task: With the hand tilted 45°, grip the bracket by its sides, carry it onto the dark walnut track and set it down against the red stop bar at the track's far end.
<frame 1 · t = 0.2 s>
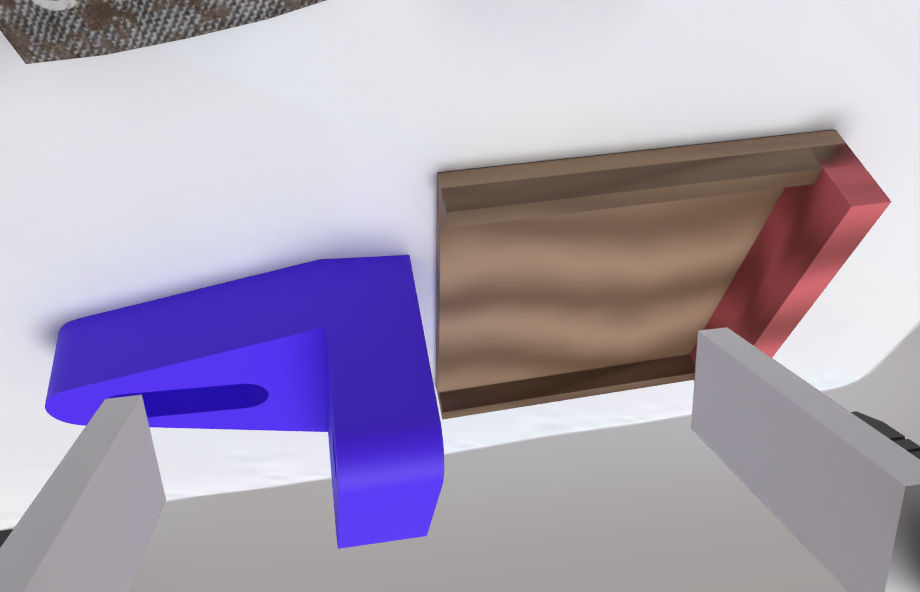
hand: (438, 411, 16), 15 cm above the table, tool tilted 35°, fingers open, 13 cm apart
walnut stop track: (602, 279, 40), on the table
bracket: (240, 322, 38), on the table
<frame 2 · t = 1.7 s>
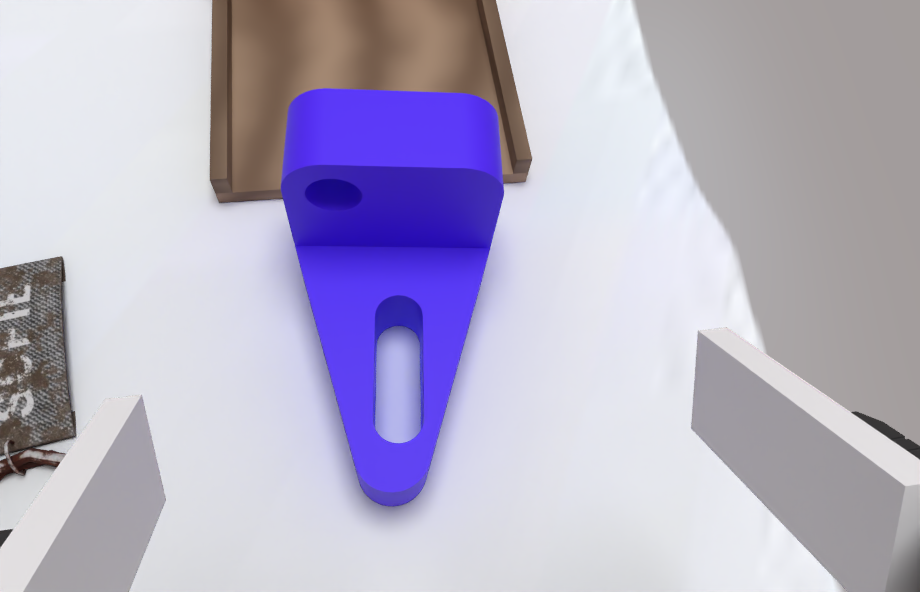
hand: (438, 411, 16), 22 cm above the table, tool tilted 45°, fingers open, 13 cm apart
walnut stop track: (364, 75, 49), on the table
keychain: (32, 424, 37), on the table
bracket: (393, 350, 40), on the table
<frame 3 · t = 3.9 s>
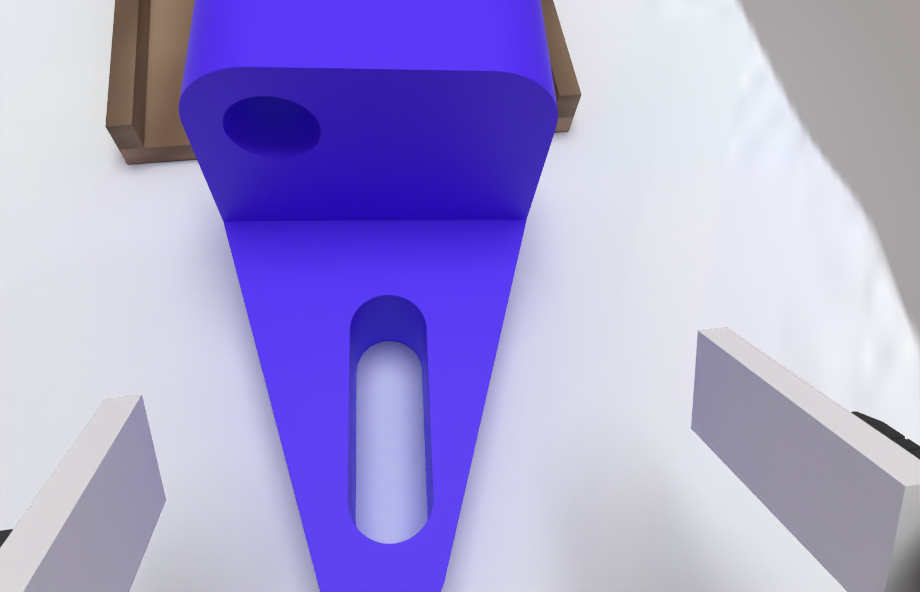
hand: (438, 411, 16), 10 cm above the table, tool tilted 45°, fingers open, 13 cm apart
bracket: (381, 377, 27), on the table
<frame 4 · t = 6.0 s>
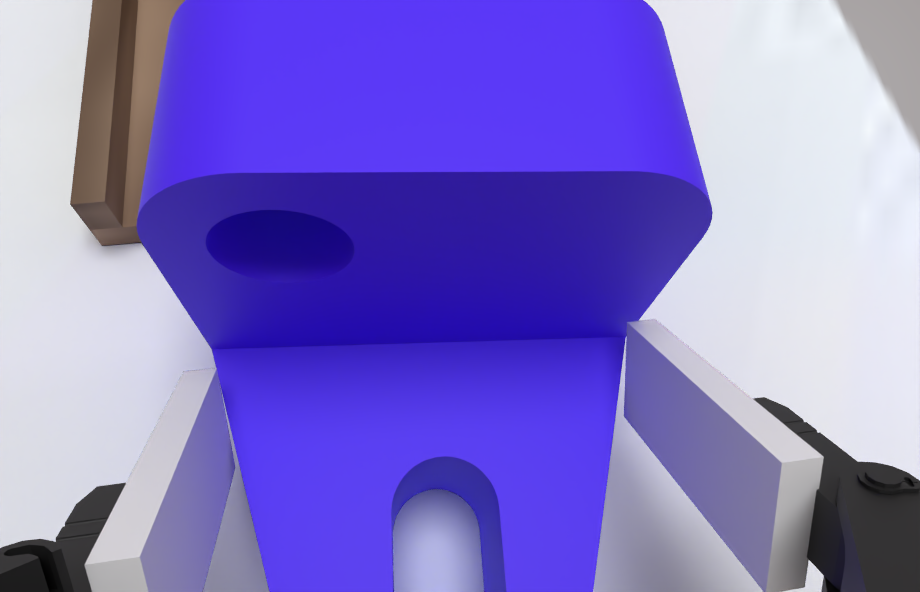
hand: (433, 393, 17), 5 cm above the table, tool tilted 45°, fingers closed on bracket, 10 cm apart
walnut stop track: (369, 20, 29), on the table
bracket: (426, 540, 20), on the table, touching gripper
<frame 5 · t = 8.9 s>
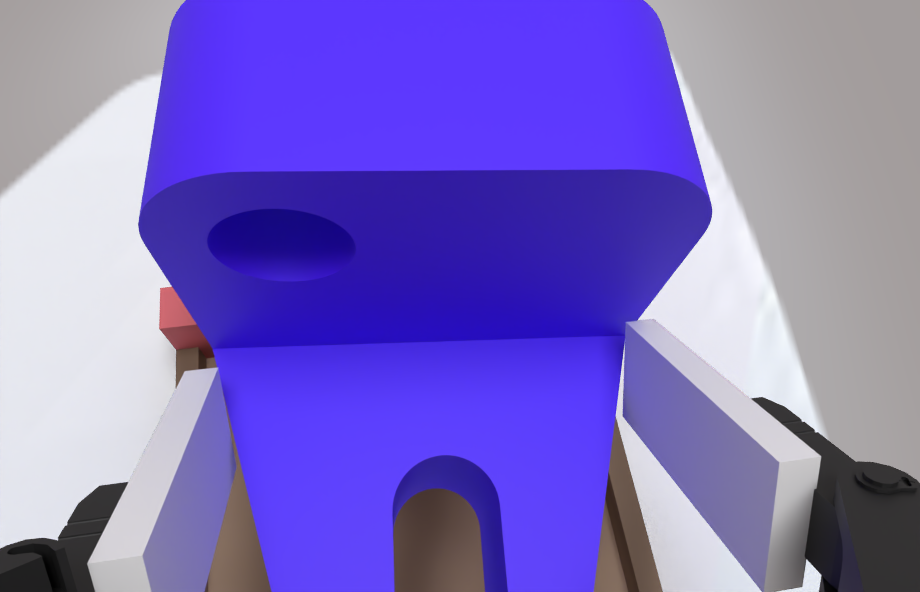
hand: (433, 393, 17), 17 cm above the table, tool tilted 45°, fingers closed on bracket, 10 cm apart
walnut stop track: (409, 499, 32), on the table
bracket: (426, 539, 20), point 12 cm above the table, touching gripper
when the fingers open (7 cm above the table, at t = 11.8 s): bracket drops 1 cm, resting on walnut stop track.
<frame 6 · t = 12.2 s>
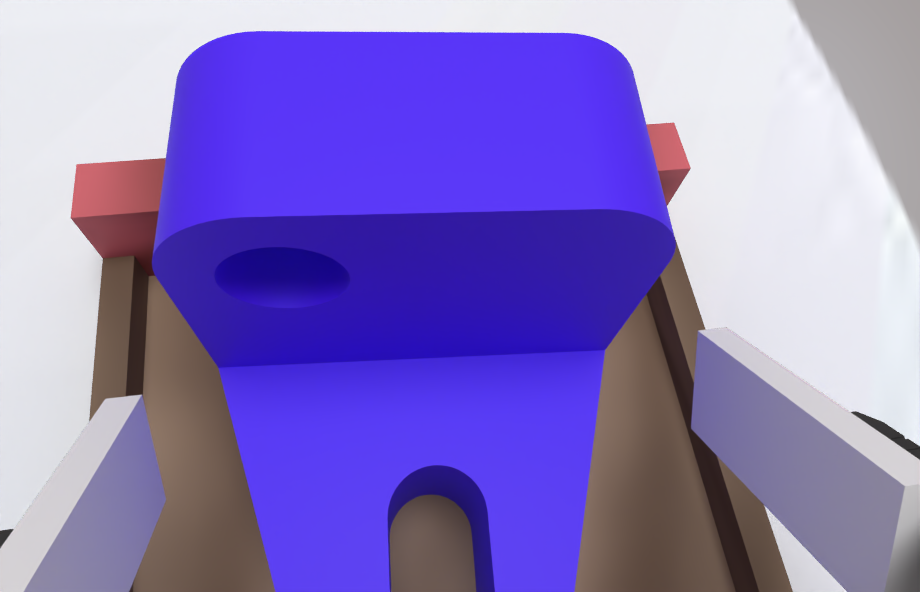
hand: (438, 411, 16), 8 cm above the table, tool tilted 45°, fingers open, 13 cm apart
walnut stop track: (426, 472, 23), on the table
bracket: (421, 543, 21), point 1 cm above the table, touching walnut stop track
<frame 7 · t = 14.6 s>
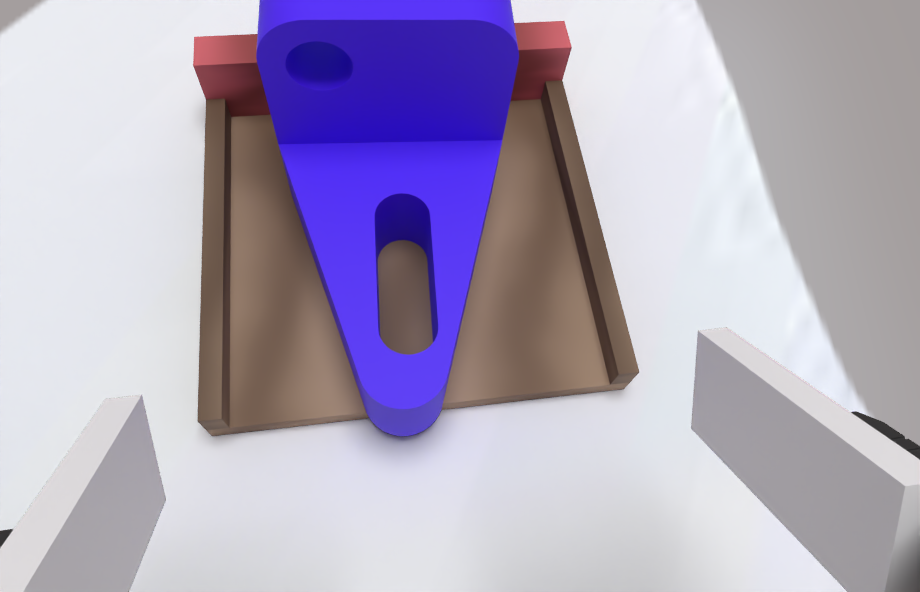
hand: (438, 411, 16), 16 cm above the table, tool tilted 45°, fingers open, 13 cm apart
walnut stop track: (404, 234, 37), on the table
bracket: (396, 266, 35), point 1 cm above the table, touching walnut stop track
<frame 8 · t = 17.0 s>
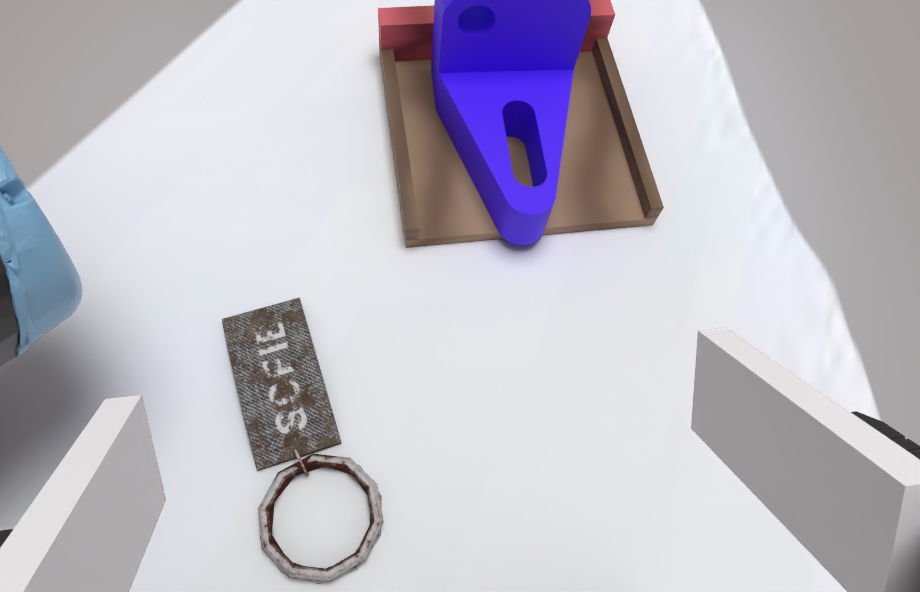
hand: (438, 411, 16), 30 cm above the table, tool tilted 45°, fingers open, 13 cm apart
walnut stop track: (509, 135, 58), on the table
keychain: (301, 435, 46), on the table
bracket: (506, 152, 56), point 1 cm above the table, touching walnut stop track
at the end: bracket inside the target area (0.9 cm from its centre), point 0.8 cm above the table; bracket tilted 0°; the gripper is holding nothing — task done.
